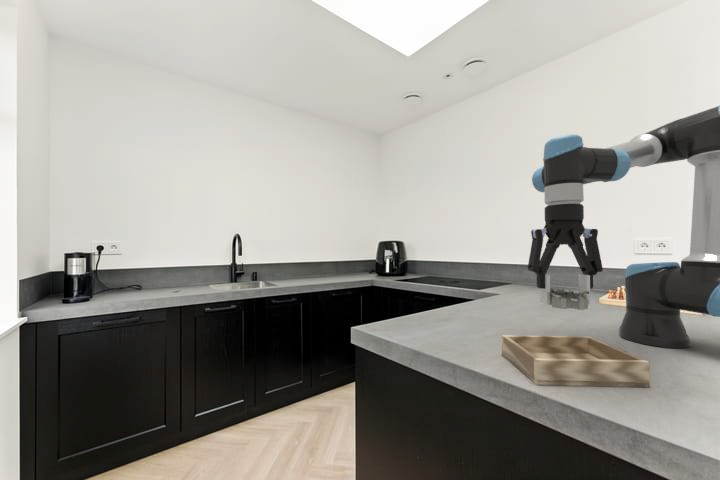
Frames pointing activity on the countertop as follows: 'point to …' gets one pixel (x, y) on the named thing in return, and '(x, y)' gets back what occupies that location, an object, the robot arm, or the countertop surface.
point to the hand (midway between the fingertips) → (564, 302)
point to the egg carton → (568, 299)
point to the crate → (574, 361)
